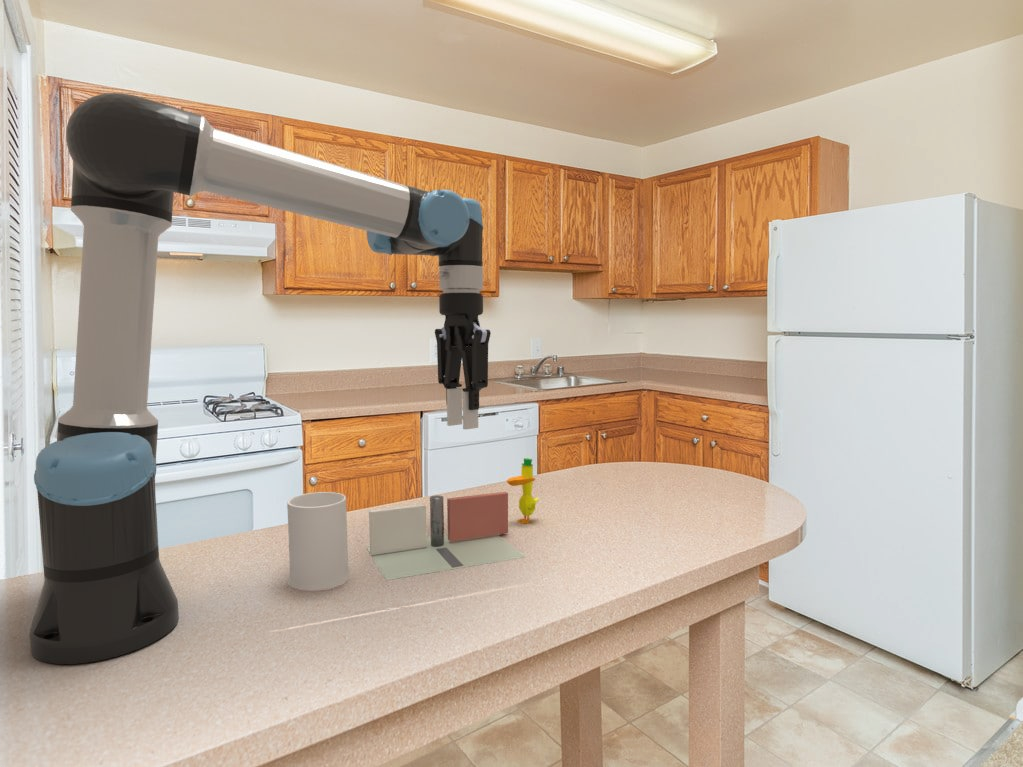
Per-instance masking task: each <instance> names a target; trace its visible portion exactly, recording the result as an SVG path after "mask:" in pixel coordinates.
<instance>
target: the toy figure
mask: <svg viewBox="0 0 1023 767" xmlns="http://www.w3.org/2000/svg"><path fill="white" fill-rule="evenodd" d="M532 462H533V459H532V458H527V457H525V458H523V463H521V470H520V471H521V474H520V475H516V476H512V477H509V478H508V479H506V482H507V484H508V485H510V486H511V487H516V486H521V489H522V495H521V497H520V498H519V499H518V509H519V511H520V512H521V514H522V516H523V518H519V519H518V520H517V522H518V523H520V524H521V525H524V524H529V523H531V520H530V516H532V515H533V514H534V512H535V511H536V504H537V502H538V500H539V499H540V497H536V498H534V497H533V496H532V490H533V482H535V481H536V478H535V477H534V464H532Z"/></svg>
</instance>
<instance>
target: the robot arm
mask: <svg viewBox="0 0 1023 767" xmlns="http://www.w3.org/2000/svg"><path fill="white" fill-rule="evenodd" d="M65 129H66V130H65V139H66V140H65V141H66V146H67V150H68V154H69V156H70V158H71V159H72V161H73V162H72V180H71V198H70V211H71V212H72V213H73V214H74V216H76V218H78V220H79V221H80V222H81V224H82V226H83V236H82V251H81V252H82V253H81V267H80V268H81V269H80V270H81V271H80V285H79V286H80V287H79V301H78V302H79V303H78V318H77V332H76V333H77V334H76V350H75V351H76V352H75V353H76V354H75V367H74V380H73V381H74V382H73V383H74V384H73V385H74V386H73V398H72V399H73V400H72V406H71V407H70V408H69V410H67V411H66V412H65V413H63V414H62V415H61V416H60V417H58V419H57V430H56V431H57V434H56V441H53V442H52V443H49V444H47V445H46V446H45V447H44V448H42V449H41V450H40V451H39V452H38V455H37V456H36V458H35V459H36V460H35V470H34V474H33V481H34V482H33V483H34V484H35V488H36V490H37V491H36V492H37V503H38V504H37V505H38V514H39V527H40V529H39V530H40V540H41V541H40V542H41V553H42V554H41V556H42V565H43V579H44V581H43V586H42V589H41V593H40V595H39V599H38V602H37V605H36V609H35V613H34V616H33V619H32V622H31V625H30V629H29V644H30V645H29V646H30V653H31V655H32V656H33V658H35V659H37V660H39V661H41V662H45V663H48V664H56V665H73V664H85V663H92V662H98V661H103V660H107V659H112V658H116V657H120V656H123V655H125V654H128V653H131V652H134V651H137V650H139V649H142V648H144V647H147V646H150V645H151V644H153V643H154V642H157V641H158V640H160V639H162V638H163V637H165V636H166V635H167V634H169V633H170V632H172V630H173V629H174V628H175V627H176V625H177V624H178V622H179V617H180V616H179V615H180V614H179V613H180V612H179V601H178V597H177V595H176V594H175V590H174V589H173V587H172V585H171V582H170V581H169V578H168V576H167V573H166V572H165V570H164V567H163V565H162V563H161V560H160V552H159V551H160V549H159V533H158V517H157V516H158V514H157V502H156V501H157V499H156V497H157V496H156V475H157V450H158V449H157V448H158V447H157V446H158V434H159V433H158V431H159V430H158V429H159V419H158V418H157V417H156V416H154V415H153V414H152V413H151V412H150V411H149V410H148V399H149V398H148V397H149V382H150V380H149V379H150V367H151V353H152V352H151V350H152V338H153V336H152V335H153V323H154V307H155V306H154V304H155V292H156V277H157V275H156V274H157V262H158V261H157V260H158V248H159V246H158V245H159V237H160V235H161V234H163V233H164V232H166V231H167V230H169V229H170V228H171V227H172V223H173V222H172V221H173V208H174V196H175V195H174V194H175V193H176V194H180V195H186V196H188V197H193V196H195V195H197V194H199V193H200V192H209V193H211V194H215V195H221V196H225V197H228V198H232V199H237V200H240V201H244V202H250V203H253V204H257V205H260V206H265V207H268V208H272V209H277V210H281V211H285V212H288V213H289V212H290V213H293V214H297V215H301V216H306V217H308V218H309V217H310V218H314V219H318V220H321V221H325V222H329V223H335V224H338V225H341V226H347V227H350V228H354V229H358V230H362V231H366V239H367V245H368V246H369V248H370V250H371V251H372V252H374V253H376V254H386V255H389V256H393V255H408V256H409V255H410V256H415V255H416V256H432V257H436V256H437V257H438V269H439V272H438V276H439V279H438V280H439V284H438V285H439V286H438V287H439V288H438V289H439V290H440V291H442V293H440V294H439V296H438V297H439V298H438V302H439V304H438V305H439V306H438V308H439V311H438V312H439V314H440V316H445V317H444V323H443V327H442V328H436V329H435V330H434V336H435V340H436V354H437V357H436V358H437V361H436V362H437V381H438V383H439V384H440V385H443V387H444V389H445V395H446V397H445V399H446V400H445V402H446V419H447V420H446V426H448V427H451V426H459V425H462V429H463V430H471V429H478V428H479V409H480V391H481V390H482V389H486V388H487V387H488V385H489V382H488V381H489V378H488V377H489V342H490V338H491V330H490V329H484V328H482V327H481V324H480V321H479V316H481V315H483V313H484V295H483V294H482V293H480V291H482V290H484V267H483V232H484V223H483V212H482V206H481V203H480V202H479V201H477V200H476V199H474V198H467V197H461V195H459V193H457V192H455V191H454V190H453V191H452V190H449V189H434V190H431V191H428V190H424V189H420V188H417V187H413V186H409V185H405V184H401V183H400V182H396V181H393V180H389V179H386V178H383V177H378V176H376V175H372V174H369V173H366V172H361V171H359V170H356V169H352V168H348V167H345V166H341V165H338V164H335V163H331V162H329V161H325V160H322V159H318V158H315V157H313V156H312V157H311V156H308V155H305V154H302V153H297V152H295V151H291V150H288V149H285V148H281V147H278V146H274V145H271V144H267V143H264V142H261V141H258V140H255V139H251V138H247V137H244V136H241V135H238V134H234V133H231V132H227V131H223V130H221V129H217V128H214V127H213V126H212V125H211V124H210V122H209V121H208V120H207V119H206V117H205V116H204V115H201V114H198V113H195V112H192V111H188V110H184V109H181V108H177V107H175V106H171V105H168V104H165V103H162V102H158V101H156V100H152V99H149V98H144V97H141V96H138V95H135V94H130V93H129V94H127V93H121V92H120V93H119V92H118V93H117V92H107V93H102V94H97V95H94V96H92V97H89V98H87V99H86V100H84V101H83V102H81V103H80V104H78V106H77V107H75V109H74V110H73V111H72V114H70V116H69V119H68V122H67V125H66V128H65ZM461 366H462V367H461ZM461 368H463V369H462V372H463V378H464V384H465V387H464V388H462V386H463V384H462V383H460V376H461Z"/></svg>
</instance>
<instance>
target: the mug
mask: <svg viewBox="0 0 1023 767" xmlns="http://www.w3.org/2000/svg"><path fill="white" fill-rule="evenodd" d="M286 507H287V509H286V510H287V526H288V527H287V529H288V531H287V532H288V553H289V554H288V557H289V577H288V578H289V579H288V585H289V586H290V587H291V588H293V589H295V590H298V591H299V590H300V591H306V592H307V591H308V592H312V591H315V592H316V591H323V590H330V589H332V588H333V589H334V588H337V587H339V586H341V585H343V584H344V583H346V582H347V581H349V580H350V577H351V572H350V567H349V550H348V548H349V546H348V520H347V518H348V517H347V516H348V514H347V513H348V512H347V511H348V510H347V497H346V495H345V494H343V493H339V492H334V491H316V492H315V491H313V492H309V493H308V492H307V493H303V494H299V495H295V496H293V497H291V498H289V499H288V500H287V506H286Z"/></svg>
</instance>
